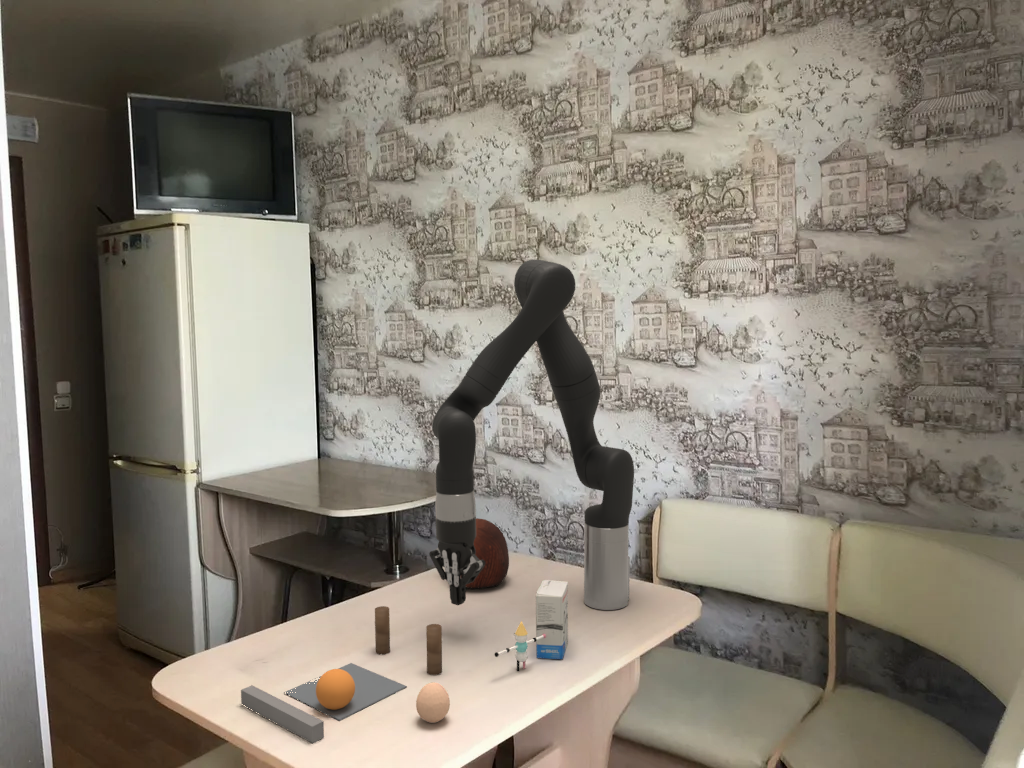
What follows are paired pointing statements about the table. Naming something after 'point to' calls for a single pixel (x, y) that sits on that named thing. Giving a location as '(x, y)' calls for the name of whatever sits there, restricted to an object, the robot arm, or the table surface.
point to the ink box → (552, 619)
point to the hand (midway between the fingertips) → (457, 603)
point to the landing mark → (366, 693)
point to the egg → (432, 702)
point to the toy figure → (520, 645)
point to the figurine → (490, 555)
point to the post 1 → (382, 630)
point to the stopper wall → (283, 714)
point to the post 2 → (434, 649)
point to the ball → (335, 689)
